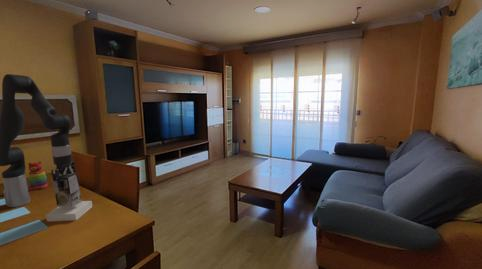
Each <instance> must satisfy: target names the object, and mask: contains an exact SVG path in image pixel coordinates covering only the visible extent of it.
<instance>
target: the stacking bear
mask: <svg viewBox="0 0 482 269" xmlns="http://www.w3.org/2000/svg"><path fill="white" fill-rule="evenodd" d="M42 167H43V165H42V162H41V161H37V162H29V163H28V171H29V172H28V175H27V182H28V183H29V186H28V191H29V192H32V191H35V190H44V189H47V188H48V187H49V184H48V183H47V180H48V178H47V174H46V172H45V171H44V169H42Z"/></svg>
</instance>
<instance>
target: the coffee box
mask: <svg viewBox="0 0 482 269" xmlns="http://www.w3.org/2000/svg"><path fill="white" fill-rule="evenodd" d="M59 175H62V174H59ZM51 179H52V183H53V184H52V185H53V190H54V195H55V203H56V208H57V207H74V206H75V205H77V204H79V203H81V202H82V201H83V200H82V195H81V188H80V180H79V173H77V172H76V173H66V174H65V176H64V178H63V182H64V188H59V187H58V182H57V181H53V177H51ZM56 179H57V177H56ZM60 179H61V176H60Z"/></svg>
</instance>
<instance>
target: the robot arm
mask: <svg viewBox="0 0 482 269" xmlns="http://www.w3.org/2000/svg"><path fill="white" fill-rule="evenodd" d="M1 91H2V92H1V94H2V95H1V98H2V100H1V111H0V112H1V113H0V167H7V166H9V167H8V168H6V169H5V170H3V172H1V177H2V182H3V186H4V190H2V191H3V196H4V197H3V198H4V202H5V207H9V208H17V207H21V206H24V205H27V204H28V203H30V202H31V198H30V197H31V196H30V193H29V192H30V191H28V187H29V186H28V183H27V182H28V180H27V176H26V161H25V160H26V159H25V154H24V151H23V150H22V149H21V147H20V146H19V147H18V146H12V144H13V143H14V141H15V139H17V137H18V136H20V134H21V133H22V131H23V130H24V127H25V126H24V125H25V121H26V120H25V118H26V117H25V114H24V113H23V111H22V110H21V108H20V107H19V105H18V104H17V102H16V94H27V95H29V96H31V100H30V106H31V107H32V109H33V110H34V111H35V112H36V114H38V115H39V116H40V117H39V118H40V119H41V121H42V125H43V127H45V129H48V130H51V131H52V130H58V132H56V133H53V134H52V135H50V143H51V144H50V145H51V154H52V162H53V165H55V166H56V167H55V169H51V176H52V177H53V180H52V182H53V181H57V182H58V187H59V188H64V182H63V178H64V176H65V174H66V173H77V169H76V167H77V165H76V162H75V161H73V154H72V150H71V149H72V148H71V146H70V139H69V134H70V131H71V130H70V129H71V125H72V124H71V118H70V117H69V115H67V114H64V113H62V114H57V109H56V108H55V107H54V106H53V105H52V104H51V103H50V102H49V101H48V100H47V98H45V96H44V95H43V93H42V91H41V90H40V88H39V87H38V86H37V84H36V83H35V81H34V79H33V78H31V77H30V76H27V75H21V74H20V75H19V74H9V73H7V74H5V75H4V76H3V78H2V83H1ZM11 146H12V147H11ZM59 174H62V175H59ZM60 176H61V179H60ZM52 177H51V178H52ZM56 177H57V179H56Z"/></svg>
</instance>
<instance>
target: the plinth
mask: <svg viewBox="0 0 482 269" xmlns="http://www.w3.org/2000/svg"><path fill="white" fill-rule="evenodd" d="M92 207H93V201H92V200H82V202H81V203H79V204H77V205H75V206H74V207H57V206H56V207H55V208H54V209H52V210H51V211H50V212H48V213H46V215H45V217H46V218H45V219H46V222H65V221H70V222H71V221H77V220H78V219H80V217H82V216H83V215H84V214H85V213H87V212H88V211H89V210H90V209H91V208H92Z"/></svg>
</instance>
